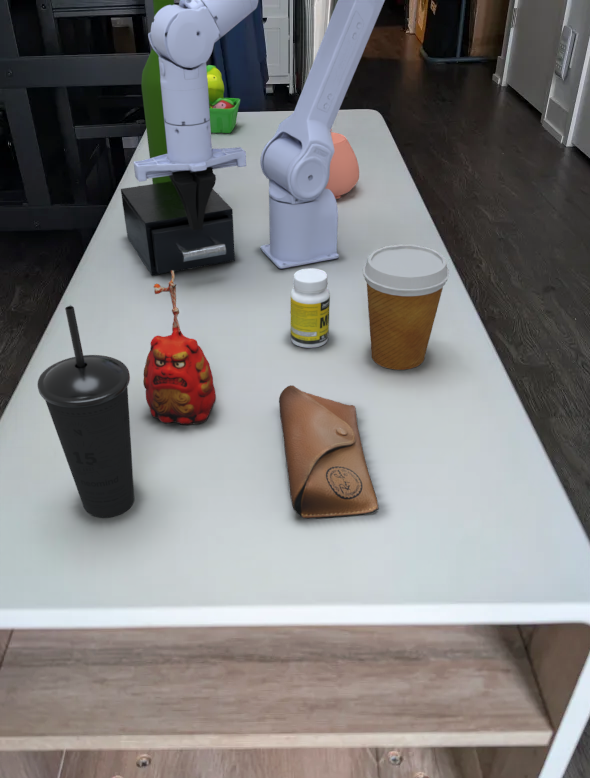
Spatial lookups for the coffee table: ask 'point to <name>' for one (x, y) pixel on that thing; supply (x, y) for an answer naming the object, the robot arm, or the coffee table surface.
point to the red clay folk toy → (178, 374)
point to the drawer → (193, 244)
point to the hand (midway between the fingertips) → (195, 227)
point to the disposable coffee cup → (403, 302)
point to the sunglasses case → (324, 457)
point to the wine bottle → (154, 102)
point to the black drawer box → (160, 215)
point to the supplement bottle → (310, 308)
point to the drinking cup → (92, 425)
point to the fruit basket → (220, 103)
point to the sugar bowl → (342, 167)
